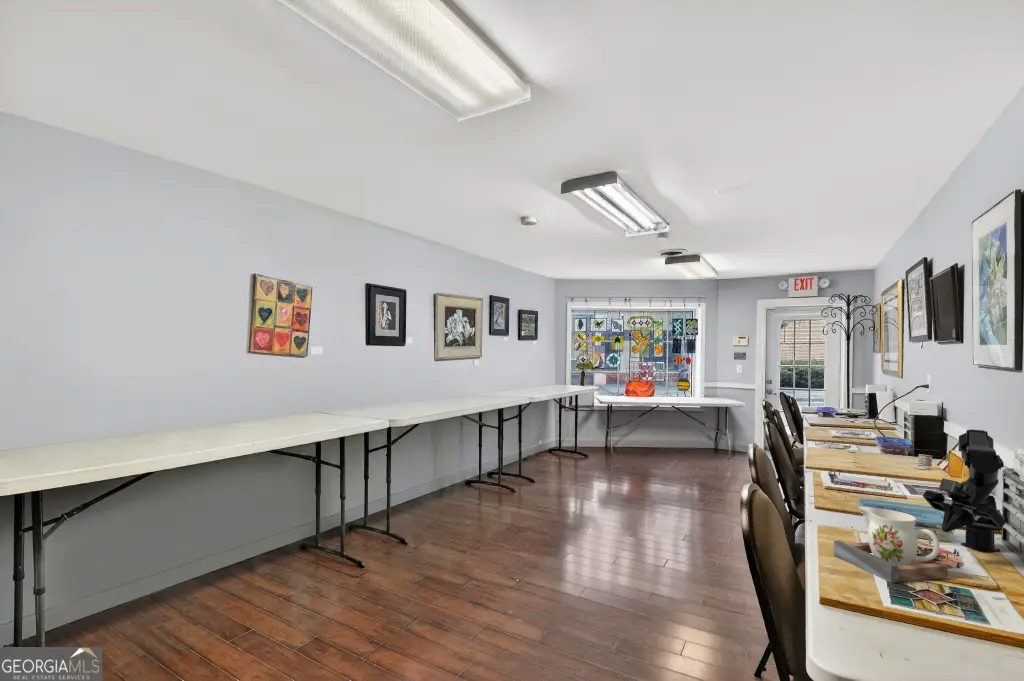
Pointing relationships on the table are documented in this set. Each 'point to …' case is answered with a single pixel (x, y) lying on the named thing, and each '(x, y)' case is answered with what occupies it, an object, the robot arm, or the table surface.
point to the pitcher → (896, 536)
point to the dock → (886, 564)
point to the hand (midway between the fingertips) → (943, 531)
